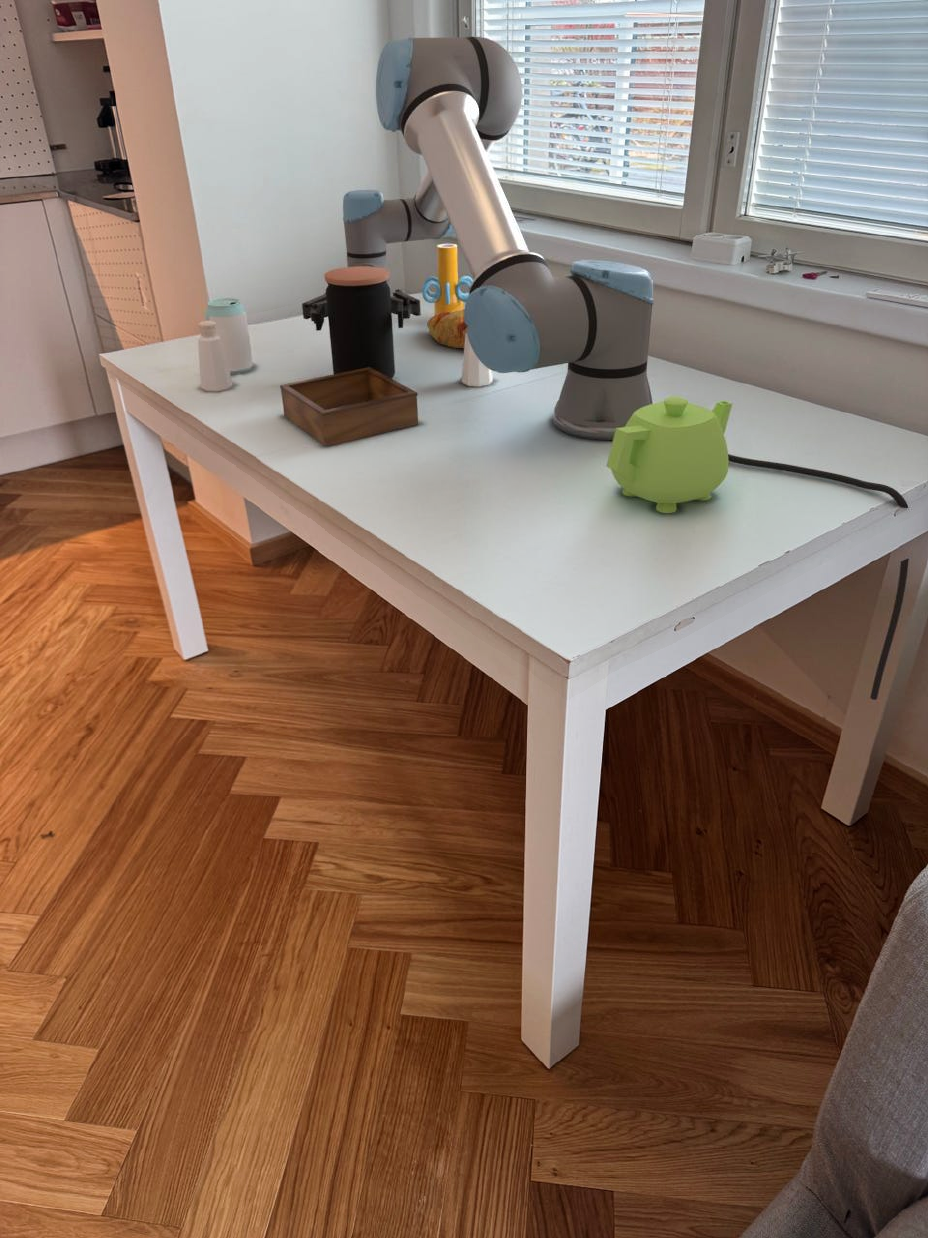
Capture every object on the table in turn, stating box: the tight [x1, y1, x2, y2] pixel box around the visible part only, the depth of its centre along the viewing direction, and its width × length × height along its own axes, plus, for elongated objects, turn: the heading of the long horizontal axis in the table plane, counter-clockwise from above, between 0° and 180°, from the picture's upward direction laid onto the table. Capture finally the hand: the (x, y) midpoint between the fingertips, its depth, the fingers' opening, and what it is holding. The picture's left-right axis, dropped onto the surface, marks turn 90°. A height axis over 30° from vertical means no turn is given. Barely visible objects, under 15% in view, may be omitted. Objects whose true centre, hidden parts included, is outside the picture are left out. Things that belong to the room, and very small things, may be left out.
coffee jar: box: [323, 266, 396, 379], centre depth 159 cm, size 11×11×18 cm
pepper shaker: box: [461, 333, 494, 388], centre depth 159 cm, size 5×5×11 cm
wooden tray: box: [279, 367, 419, 447], centre depth 145 cm, size 16×16×5 cm
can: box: [204, 297, 254, 375], centre depth 168 cm, size 7×7×12 cm
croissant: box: [426, 308, 468, 349], centre depth 181 cm, size 21×10×8 cm, turn 40°
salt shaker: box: [197, 320, 234, 393], centre depth 159 cm, size 5×5×11 cm
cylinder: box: [421, 243, 474, 316], centre depth 192 cm, size 12×10×15 cm
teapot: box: [605, 396, 733, 514], centre depth 118 cm, size 20×13×13 cm
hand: (358, 320), depth 155 cm, fingers open, 13 cm apart
